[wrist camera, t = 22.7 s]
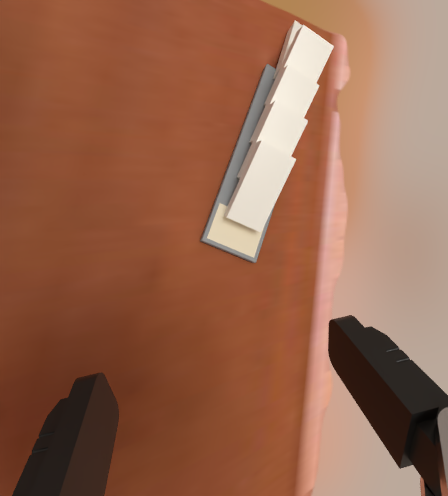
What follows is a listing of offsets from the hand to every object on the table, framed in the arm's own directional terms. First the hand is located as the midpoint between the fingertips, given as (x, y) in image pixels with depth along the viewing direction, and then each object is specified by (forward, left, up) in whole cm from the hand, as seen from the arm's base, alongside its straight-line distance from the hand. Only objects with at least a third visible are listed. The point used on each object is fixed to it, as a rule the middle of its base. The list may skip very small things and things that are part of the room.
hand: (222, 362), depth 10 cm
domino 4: (-10, +17, -23) cm, 30 cm away
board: (-13, +20, -25) cm, 34 cm away
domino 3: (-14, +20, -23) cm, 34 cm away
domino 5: (-5, +13, -23) cm, 27 cm away
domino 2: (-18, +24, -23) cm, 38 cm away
